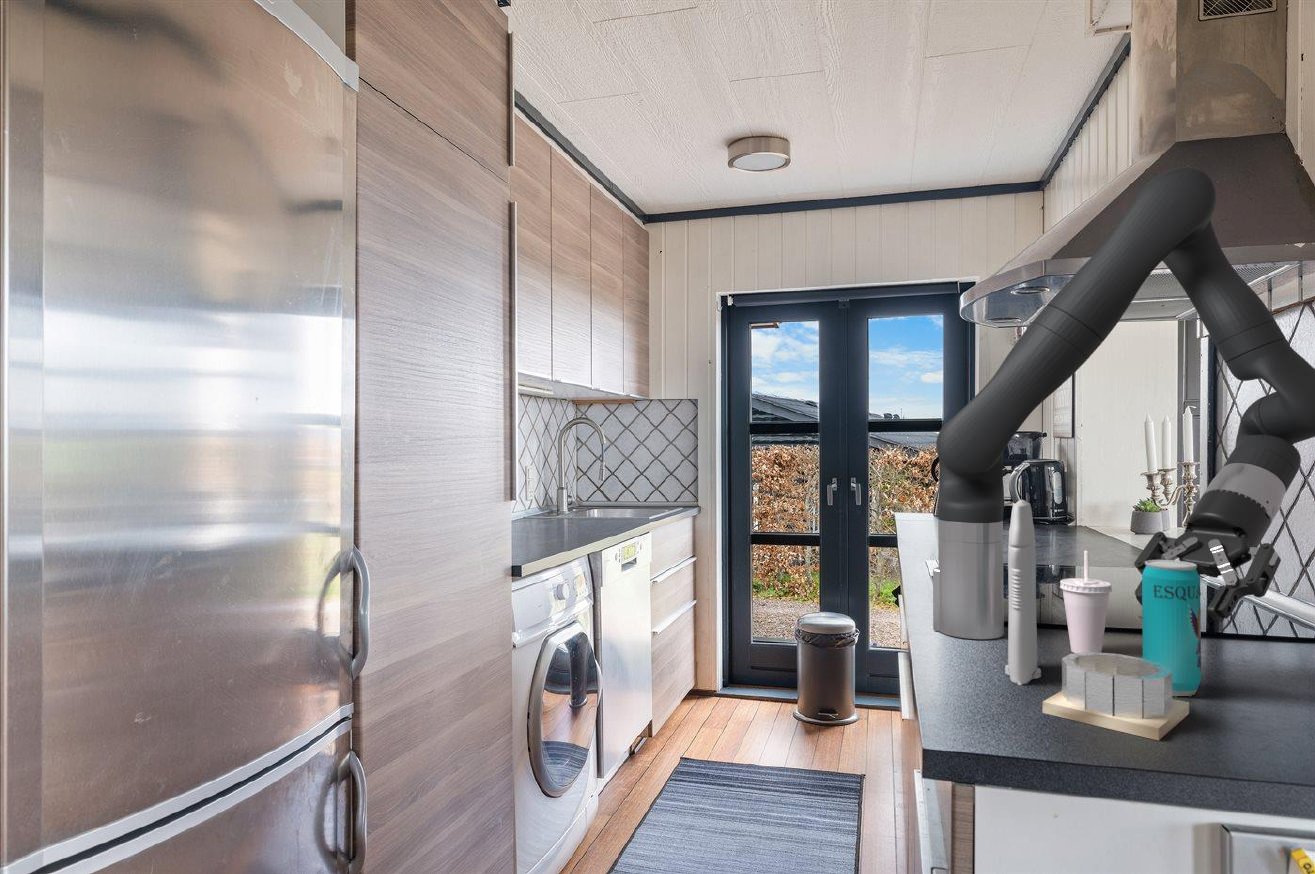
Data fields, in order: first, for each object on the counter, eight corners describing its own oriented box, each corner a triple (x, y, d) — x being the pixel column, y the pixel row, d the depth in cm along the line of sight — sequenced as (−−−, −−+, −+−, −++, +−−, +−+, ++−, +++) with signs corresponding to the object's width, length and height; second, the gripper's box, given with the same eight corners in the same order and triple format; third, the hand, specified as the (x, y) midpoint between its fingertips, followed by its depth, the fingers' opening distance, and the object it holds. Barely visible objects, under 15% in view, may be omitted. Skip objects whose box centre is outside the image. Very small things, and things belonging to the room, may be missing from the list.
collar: (1049, 701, 86) (1048, 664, 86) (1082, 681, 93) (1082, 647, 93) (1154, 725, 79) (1154, 685, 79) (1182, 702, 86) (1182, 665, 86)
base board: (1042, 712, 86) (1042, 701, 86) (1079, 690, 94) (1079, 680, 94) (1158, 740, 78) (1158, 728, 78) (1189, 713, 86) (1189, 702, 86)
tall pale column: (1036, 688, 94) (1034, 503, 94) (999, 683, 97) (997, 502, 97) (1045, 666, 103) (1043, 497, 103) (1010, 661, 106) (1009, 496, 106)
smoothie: (1118, 651, 110) (1117, 550, 110) (1105, 660, 106) (1104, 555, 106) (1068, 643, 115) (1067, 546, 115) (1054, 652, 110) (1053, 551, 110)
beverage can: (1202, 701, 89) (1201, 568, 89) (1142, 693, 92) (1141, 564, 92) (1199, 687, 94) (1199, 561, 94) (1143, 680, 97) (1142, 557, 97)
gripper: (1165, 484, 104) (1105, 579, 99) (1288, 490, 91) (1225, 600, 86) (1192, 523, 106) (1134, 617, 101) (1316, 534, 93) (1256, 643, 88)
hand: (1176, 609), depth 94 cm, fingers open, 8 cm apart
